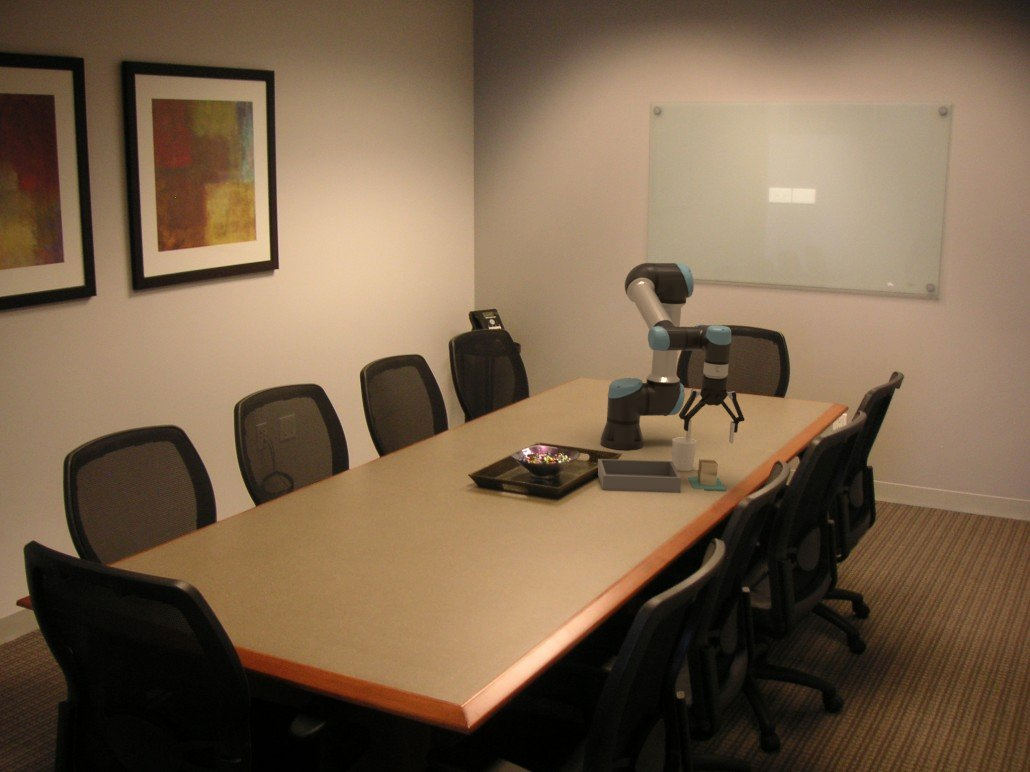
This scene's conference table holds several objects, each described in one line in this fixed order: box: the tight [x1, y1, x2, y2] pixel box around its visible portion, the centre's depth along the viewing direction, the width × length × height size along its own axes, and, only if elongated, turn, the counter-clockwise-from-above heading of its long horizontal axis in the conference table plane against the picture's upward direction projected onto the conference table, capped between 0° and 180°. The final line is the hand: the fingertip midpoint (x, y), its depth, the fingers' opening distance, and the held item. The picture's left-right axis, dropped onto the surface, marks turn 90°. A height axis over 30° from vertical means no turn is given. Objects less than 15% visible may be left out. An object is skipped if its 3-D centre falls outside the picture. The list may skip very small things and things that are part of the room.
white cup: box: [671, 436, 697, 472], centre depth 362 cm, size 8×8×10 cm
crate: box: [597, 458, 682, 493], centre depth 346 cm, size 18×24×5 cm
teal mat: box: [687, 476, 727, 492], centre depth 348 cm, size 12×10×1 cm
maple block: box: [697, 458, 719, 486], centre depth 347 cm, size 5×5×7 cm
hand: (709, 441), depth 345 cm, fingers open, 13 cm apart
